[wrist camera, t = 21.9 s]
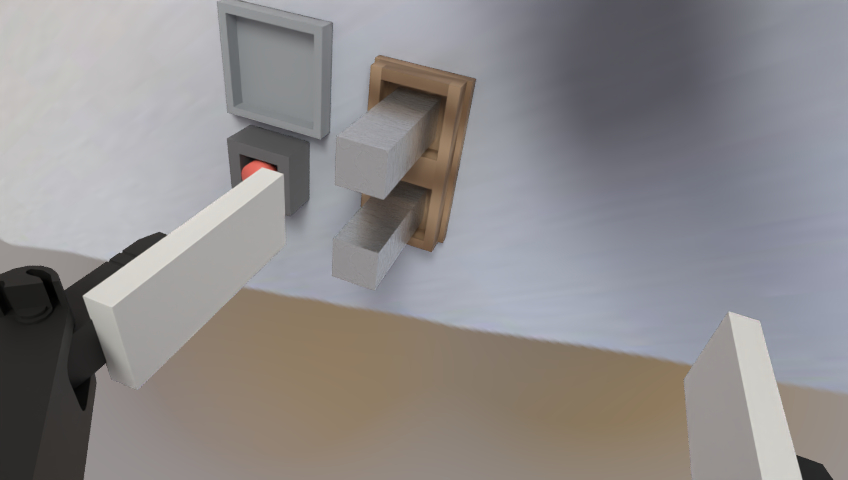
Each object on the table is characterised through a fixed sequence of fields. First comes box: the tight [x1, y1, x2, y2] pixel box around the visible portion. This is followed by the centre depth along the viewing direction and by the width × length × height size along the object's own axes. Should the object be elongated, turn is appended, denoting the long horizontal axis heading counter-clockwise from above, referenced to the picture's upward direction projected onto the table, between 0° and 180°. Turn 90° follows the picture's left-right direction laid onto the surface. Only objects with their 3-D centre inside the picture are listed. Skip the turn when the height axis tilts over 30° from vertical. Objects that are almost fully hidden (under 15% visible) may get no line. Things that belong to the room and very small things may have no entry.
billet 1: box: [335, 87, 441, 200], centre depth 42 cm, size 4×4×12 cm
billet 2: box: [332, 180, 428, 291], centre depth 48 cm, size 4×4×12 cm
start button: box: [241, 159, 278, 181], centre depth 54 cm, size 4×4×2 cm
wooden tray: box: [361, 55, 476, 252], centre depth 49 cm, size 17×9×3 cm, turn 172°
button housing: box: [227, 125, 309, 216], centre depth 55 cm, size 7×7×4 cm
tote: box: [217, 0, 333, 139], centre depth 50 cm, size 11×11×2 cm
